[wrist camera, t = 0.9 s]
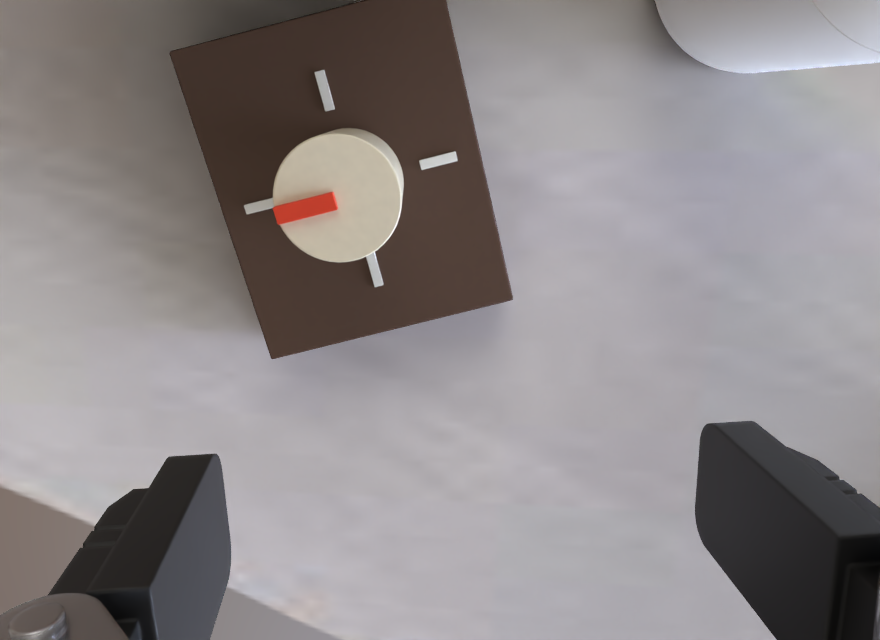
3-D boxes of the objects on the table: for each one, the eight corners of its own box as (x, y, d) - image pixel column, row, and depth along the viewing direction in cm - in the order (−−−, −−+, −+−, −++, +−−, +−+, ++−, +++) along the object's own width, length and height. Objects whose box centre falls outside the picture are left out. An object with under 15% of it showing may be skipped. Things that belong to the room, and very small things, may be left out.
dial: (388, 115, 27) (382, 118, 22) (415, 221, 28) (416, 247, 23) (283, 142, 27) (253, 151, 22) (314, 246, 28) (292, 278, 23)
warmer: (438, -8, 28) (441, -22, 25) (504, 282, 32) (514, 301, 29) (193, 56, 29) (166, 51, 26) (283, 336, 32) (270, 361, 29)
